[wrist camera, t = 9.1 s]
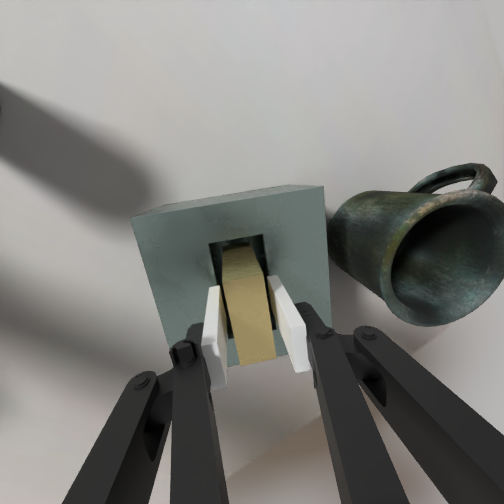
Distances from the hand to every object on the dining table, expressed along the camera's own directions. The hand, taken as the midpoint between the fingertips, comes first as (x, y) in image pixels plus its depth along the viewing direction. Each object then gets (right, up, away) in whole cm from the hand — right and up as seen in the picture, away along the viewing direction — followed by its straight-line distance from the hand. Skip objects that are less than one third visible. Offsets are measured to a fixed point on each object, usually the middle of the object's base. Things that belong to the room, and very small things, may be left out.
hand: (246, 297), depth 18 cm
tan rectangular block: (0, +1, +4) cm, 5 cm away
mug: (+15, +7, +12) cm, 21 cm away
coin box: (-1, +3, +11) cm, 11 cm away
